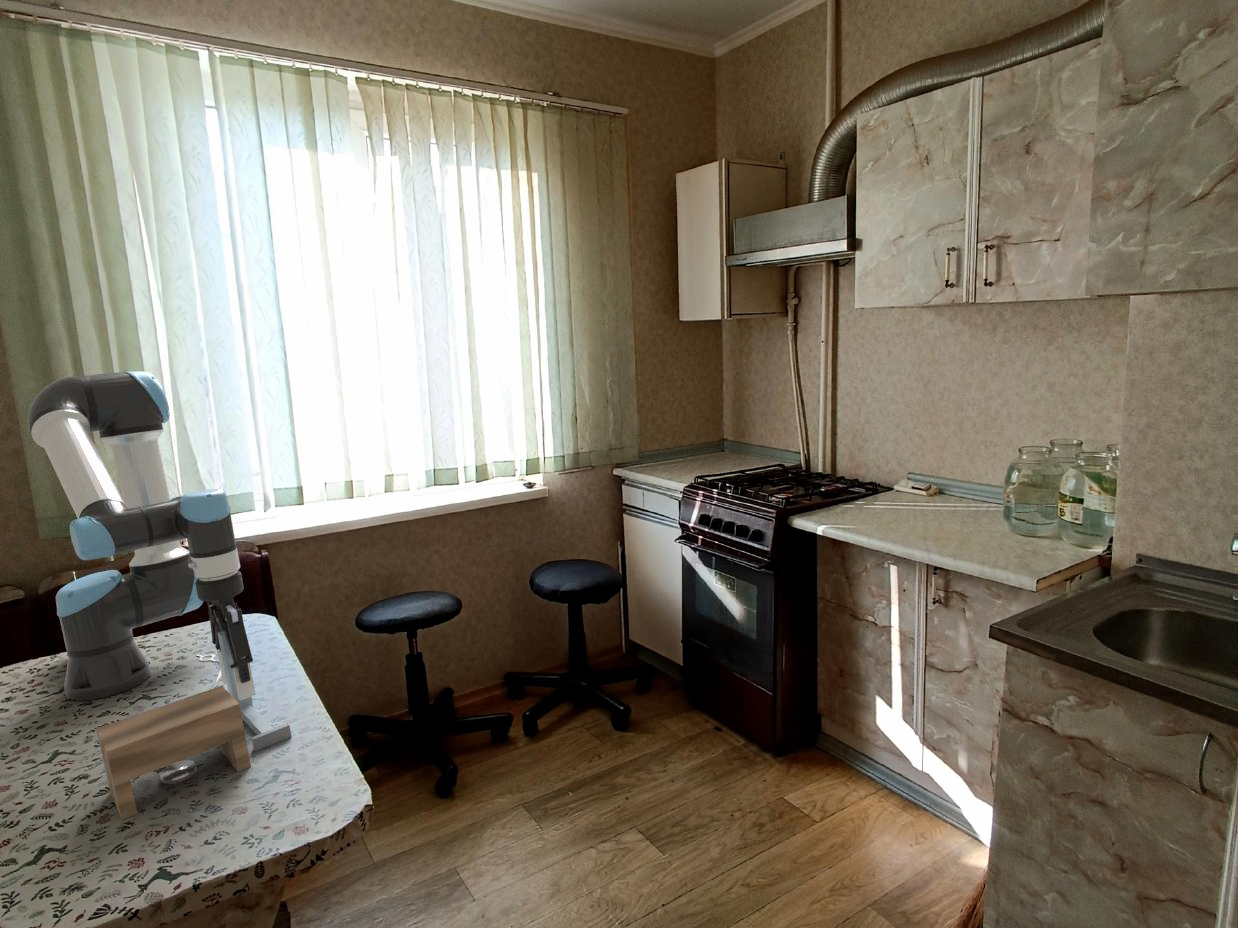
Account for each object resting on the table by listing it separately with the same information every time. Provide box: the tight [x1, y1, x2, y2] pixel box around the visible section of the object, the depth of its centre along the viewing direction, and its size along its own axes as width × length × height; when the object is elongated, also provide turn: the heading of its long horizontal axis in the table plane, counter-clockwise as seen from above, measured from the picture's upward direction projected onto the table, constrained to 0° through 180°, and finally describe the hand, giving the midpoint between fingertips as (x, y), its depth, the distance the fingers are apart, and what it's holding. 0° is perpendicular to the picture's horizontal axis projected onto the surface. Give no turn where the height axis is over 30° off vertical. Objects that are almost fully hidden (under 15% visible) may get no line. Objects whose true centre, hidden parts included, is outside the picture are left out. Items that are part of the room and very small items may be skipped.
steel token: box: [159, 759, 197, 785], centre depth 122 cm, size 5×5×1 cm
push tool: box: [217, 631, 292, 752], centre depth 135 cm, size 19×6×16 cm, turn 42°
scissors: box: [196, 654, 222, 683], centre depth 166 cm, size 11×1×20 cm
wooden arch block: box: [95, 685, 252, 821], centre depth 120 cm, size 10×18×11 cm, turn 132°
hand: (239, 688), depth 142 cm, fingers open, 9 cm apart
